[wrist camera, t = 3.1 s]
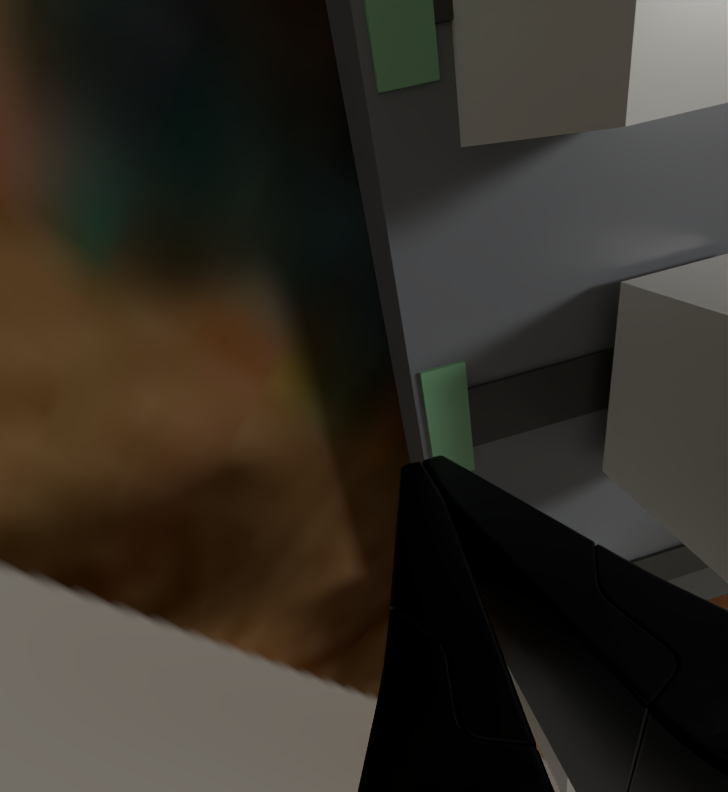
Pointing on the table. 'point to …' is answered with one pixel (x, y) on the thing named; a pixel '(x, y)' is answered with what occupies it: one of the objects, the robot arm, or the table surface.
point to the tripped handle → (674, 403)
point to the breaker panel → (533, 228)
